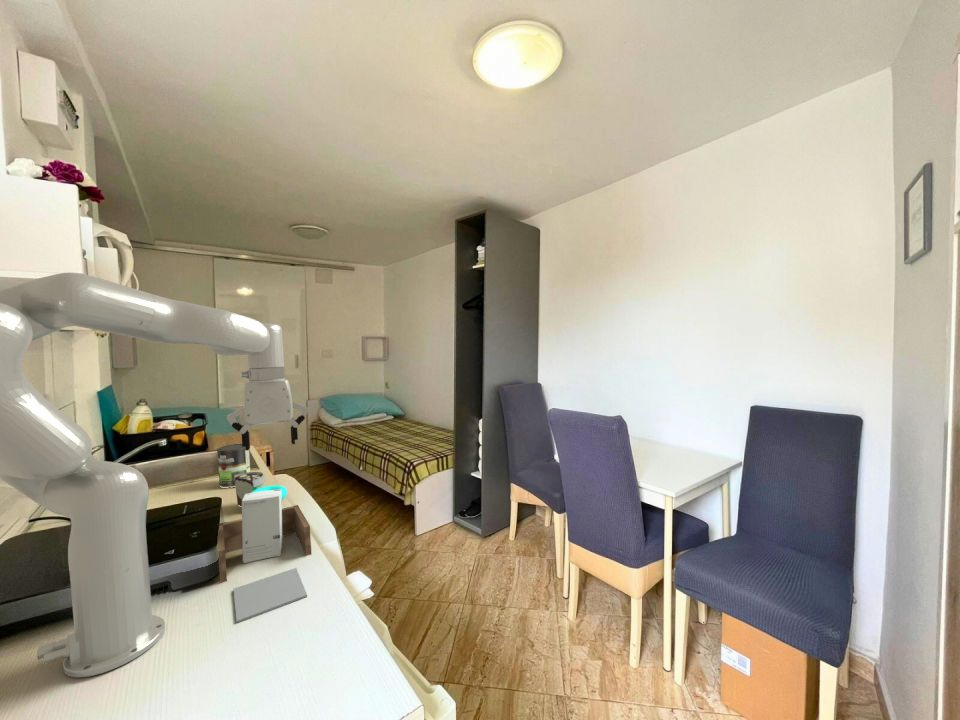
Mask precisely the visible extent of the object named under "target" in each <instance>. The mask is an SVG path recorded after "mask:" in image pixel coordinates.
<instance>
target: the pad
mask: <svg viewBox="0 0 960 720" xmlns="http://www.w3.org/2000/svg"><path fill="white" fill-rule="evenodd" d="M232 590H233V599H234V609H235V619H236V624H239V623H241V622H244V621H246V620H249V619H252V618H255V617H257V616H261V615H262V614H265V613H267V612H270V611H273V610H276V609H278V608H281V607H283V606H287V605H290V604H291V603H294V602H297V601H300V600H302V599H305V598H307V597H308V594H307V590H306V588H305V585H304V584H303V581H302V579H301V577H300V574H299V571H298V569H297V567H294V568H291V569H289V570H286V571H283V572H279V573H276V574H274V575H270V576H268V577H264V578H262V579H258V580H255V581H252V582H249V583H246V584H243V585H241V586H237V587H234V588H233V589H232Z"/></svg>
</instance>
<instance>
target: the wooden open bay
mask: <svg viewBox="0 0 960 720" xmlns="http://www.w3.org/2000/svg"><path fill="white" fill-rule="evenodd" d="M293 534H295V535H296V537H297V539H298V542H299V543H300V546H301V547H302V550H303V552H304V555H305V556H306V557H307V556H310V555H312V539H311V526H310V523H309V522H308V520H307V519H306V517H305V515H304V513H303V512H302V509H301V508H300V506H299V505H298V504H295V505H292V506H288V507H284V508H282V537H285V536H289V535H293ZM239 549H243V547H242V518H239V519H235V520H231V521H227V522H223V523H219V532H218V536H217V553H218V554H217V555H218V568H219V569H218V570H219V571H218V572H219V583H220V584H222V583H225V582H228V578H227V563H226V562H227V560H226V553H230V552H233V551H236V550H239Z"/></svg>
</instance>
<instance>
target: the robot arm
mask: <svg viewBox="0 0 960 720" xmlns="http://www.w3.org/2000/svg"><path fill="white" fill-rule="evenodd" d="M67 327H79V328H85V329H89V330H94V331H99V332H105V333H110V334H115V335H120V336H126V337H128V338H129V337H130V338H133V339H139V340H143V341H148V342H152V343H153V342H154V343H162V344H163V343H164V344H177V345H180V344H182V345H183V344H191V345H203V346H204V345H205V346H206V348H207V349H208V350H209V351H210V352H212V353H213V354H216V355H219V356H223V357H225V356H227V357H229V356H247V363H248V364H247V365H248V366H247V367H248V369H247V370H245V371H241V378H246V379H248V382H245V385H244V390H243V406H241V407H240V408H238V409H236V410H235V411H232V412H231V413H229V414H227V415H226V420H227V422H228V423H229V424H230V425H231V426H232V428H233V429H234V430H236V431H237V432H239V434H241V444H242V447H245V446H246V451H247V450H249V451H250V450H251V443H250V442H251V439H250V437H251V436H250V431H249V429H250V427H252V426H257V425H258V426H259V425H267V424H277V423H278V424H279V423H284V422H285V423H286V422H288V423H289V424H290V425H291V426H290V438H291V439H290V440H291V441H290V442H291V445H295V444H296V441H297V440H298V427H299V426H300V424H301V423H302V422H303V421H305V418H306V416H307V414H308V412H309V407H307V406H304V405H302V404H299V403H297V402H293V398H292V397H293V396H292V390H291V386H290V382H289V379H286V376H285V359H284V358H285V357H284V342H283V337H284V336H283V328H282V327H281V325H280V324H278V323H268V322H266V323H264V322H261V321H258V320H257V319H255V318H252V317H249V316H246V315H242V314H240V313H235V312H234V311H233V312H232V311H228V310H225V309H221V308H216V307H211V306H206V305H201V304H197V303H191V302H189V301H188V302H187V301H182V300H176V299H173V298H172V299H171V298H168V297H165V296H164V297H163V296H161V295H156V294H153V293H150V292H147V291H143V290H140V289H136V288H133V287H129V286H126V285H123V284H119V283H117V282H114V281H109V280H107V279H104V278H100V277H97V276H93V275H89V274H86V273H81V272H61V273H55V274H52V275H48V276H43V277H39V278H36V279H31V280H30V281H25V282H24V283H21V284H17V285H15V286H12V287H8V288H5V289H2V290H0V479H1V480H2V481H4V482H5V483H7V484H8V485H9V486H11V487H12V488H13V489H15V490H17V491H19V493H21V494H23V495H24V496H26V497H27V498H28V499H30V500H31V501H33V502H34V503H36V504H38V505H39V506H41V507H43V508H44V509H46V510H48V511H49V512H51V513H53V514H57V515H60V516H63V517H66V518H69V519H70V523H71V525H70V526H71V527H70V534H69V538H68V545H67V546H68V547H67V563H68V570H69V581H70V583H69V584H70V591H71V592H70V593H71V594H70V595H71V605H72V616H73V618H72V619H73V629H74V632H73V633H70V634H67V635H66V637H64V638H62V639H59V640H53V641H50V642H47V643H45V644H42V645H38V647H37V653H36V655H37V660H38V661H39V660H41V659H43V660H42V664H43V665H45V664H49V663H51V662H54V661H57V660H59V659H62V658H64V659H63V662H62V669H63V672H64V674H65V675H66V676H68V677H70V678H77V679H78V678H87V677H94V676H97V675H101V674H104V673H107V672H109V671H113V670H115V669H117V668H119V667H121V666H123V665H125V664H128V663H129V662H131V661H133V660H135V659H136V658H138V657H140V656H141V655H143V654H145V652H147V651H148V650H149V649H151V648H152V647H154V645H155V644H156V643H158V641H159V640H160V639H161V638H162V636H163V634H164V632H165V629H166V625H165V624H166V623H165V621H164V619H163V618H162V617H161V616H158V615H153V609H152V608H153V607H152V594H151V581H150V569H149V555H148V544H147V543H148V542H147V528H146V527H147V526H146V525H147V509H148V502H149V496H150V495H149V494H150V493H149V492H150V489H149V485H148V481H147V479H146V477H145V476H144V475H143V473H142V472H140V471H139V470H138V469H137V468H135V467H133V466H130V465H127V464H124V463H120V462H113V461H107V460H100V459H98V458H97V457H96V456H94V455H93V454H92V452H93V443H92V439H91V437H90V436H89V435H88V432H86V430H84V429H83V428H82V427H81V426H80V425H79V424H77V423H76V422H75V421H74V420H73V419H71V418H70V417H69V416H67V415H66V414H65V413H64V412H62V410H60V409H59V408H57V406H56V405H54V404H53V403H52V402H51V401H49V400H48V399H47V398H46V397H45V396H44V395H42V394H41V393H40V391H38V389H37V388H36V387H35V386H34V385H32V383H31V382H30V381H29V380H28V378H27V377H26V375H25V372H24V367H23V366H24V365H23V363H24V362H23V361H24V357H25V354H26V352H27V350H28V348H29V347H30V345H31V343H32V342H33V341H35V340H37V339H40V338H43V337H45V336H47V335H50V334H52V333H55V332H57V331H60V330H62V329H65V328H67ZM294 410H297V411H300V414H299V416H298V417H297V418H296V419H295V418H294ZM242 414H243V418H244V424H243V425H242V424H241V423H240V422H238V421H237V420H236V418H237V417H239V416H241V415H242Z"/></svg>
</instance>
